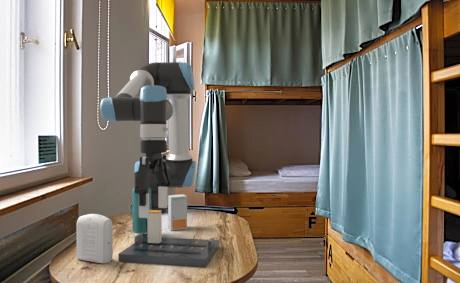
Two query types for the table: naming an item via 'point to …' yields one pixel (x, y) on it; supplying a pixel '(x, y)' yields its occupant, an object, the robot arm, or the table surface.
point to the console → (171, 251)
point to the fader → (154, 226)
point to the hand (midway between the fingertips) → (154, 212)
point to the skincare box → (177, 212)
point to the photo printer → (94, 238)
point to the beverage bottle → (138, 223)
